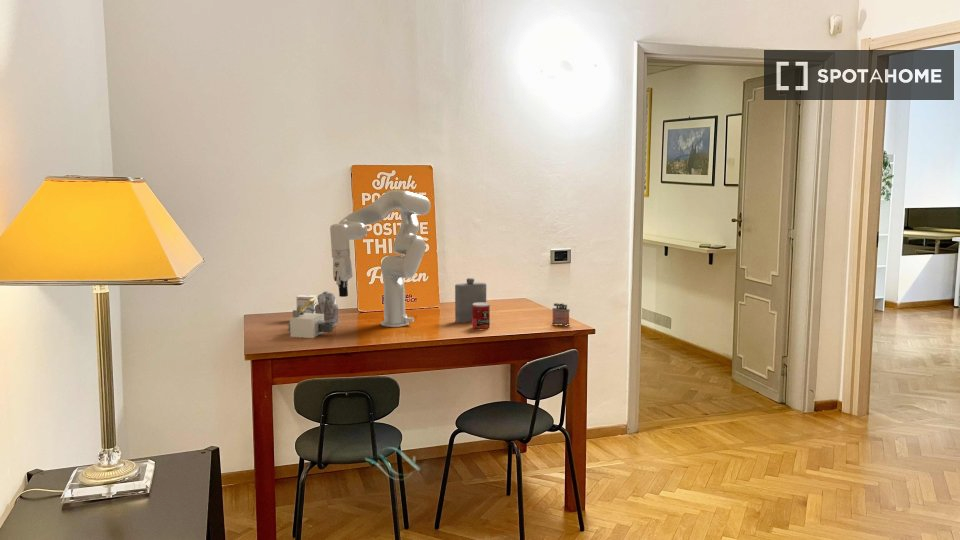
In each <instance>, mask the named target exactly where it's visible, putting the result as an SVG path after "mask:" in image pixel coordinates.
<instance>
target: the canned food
mask: <svg viewBox="0 0 960 540" xmlns="http://www.w3.org/2000/svg"><path fill="white" fill-rule="evenodd" d="M490 307H491V306H490V303H489V302H486V303H485V302H477V303H473V305H472V322H471V323H472V328H473V329H474V330H476V329H486V330H488V328H490V322H491V321H490V320H491V319H490V318H491V316H490V315H491V312H490V311H491V308H490Z"/></svg>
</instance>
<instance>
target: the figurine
mask: <svg viewBox="0 0 960 540" xmlns="http://www.w3.org/2000/svg"><path fill="white" fill-rule="evenodd" d="M335 301H336V296H335V294H334V293H332V292H329V291H323V292H322V293H320V294H318V295H317V305H316V306H315V312H316V314H324V323H332V329H333V328H335V327H336V326H337V325H338V323H339V305H338V304H335Z"/></svg>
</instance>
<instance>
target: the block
mask: <svg viewBox="0 0 960 540" xmlns="http://www.w3.org/2000/svg"><path fill="white" fill-rule="evenodd" d="M299 309H300V308H299ZM321 320H324V314H316V313H304V311H303V312H302V314H300V315H298V310H297V309H296V310H295V309H293V310H292V317H290V318H289V322H290V331H289V332H290V338H302V337H303V338H304V339H305V338H306V339H314V338H315V337H317V336H319V335H321V334H323V333H324V332H322V333H320V334H316V330H315V323H316V322H319V321H321ZM303 338H302V339H303Z"/></svg>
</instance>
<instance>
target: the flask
mask: <svg viewBox="0 0 960 540" xmlns="http://www.w3.org/2000/svg"><path fill="white" fill-rule="evenodd" d="M454 298H455V299H454V305H455V306H454V310H455V311H454V313H455V314H454V315H455V317H454V319H455V320H454V321H455V323H457V324H464V323H463V322H466V323H472V305H473V303H477V302H485V303H487V283H485V282H475V278H474V277H469V278H466V282H465V283H456V284H455V286H454Z"/></svg>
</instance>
